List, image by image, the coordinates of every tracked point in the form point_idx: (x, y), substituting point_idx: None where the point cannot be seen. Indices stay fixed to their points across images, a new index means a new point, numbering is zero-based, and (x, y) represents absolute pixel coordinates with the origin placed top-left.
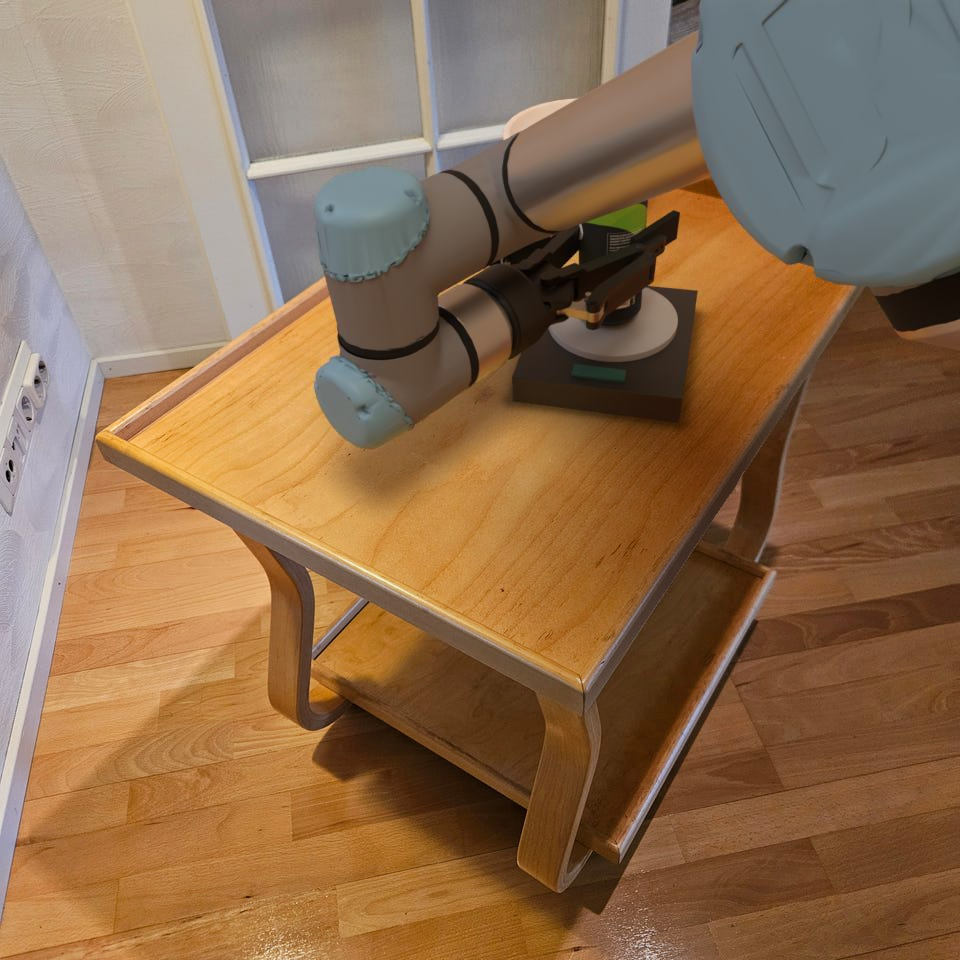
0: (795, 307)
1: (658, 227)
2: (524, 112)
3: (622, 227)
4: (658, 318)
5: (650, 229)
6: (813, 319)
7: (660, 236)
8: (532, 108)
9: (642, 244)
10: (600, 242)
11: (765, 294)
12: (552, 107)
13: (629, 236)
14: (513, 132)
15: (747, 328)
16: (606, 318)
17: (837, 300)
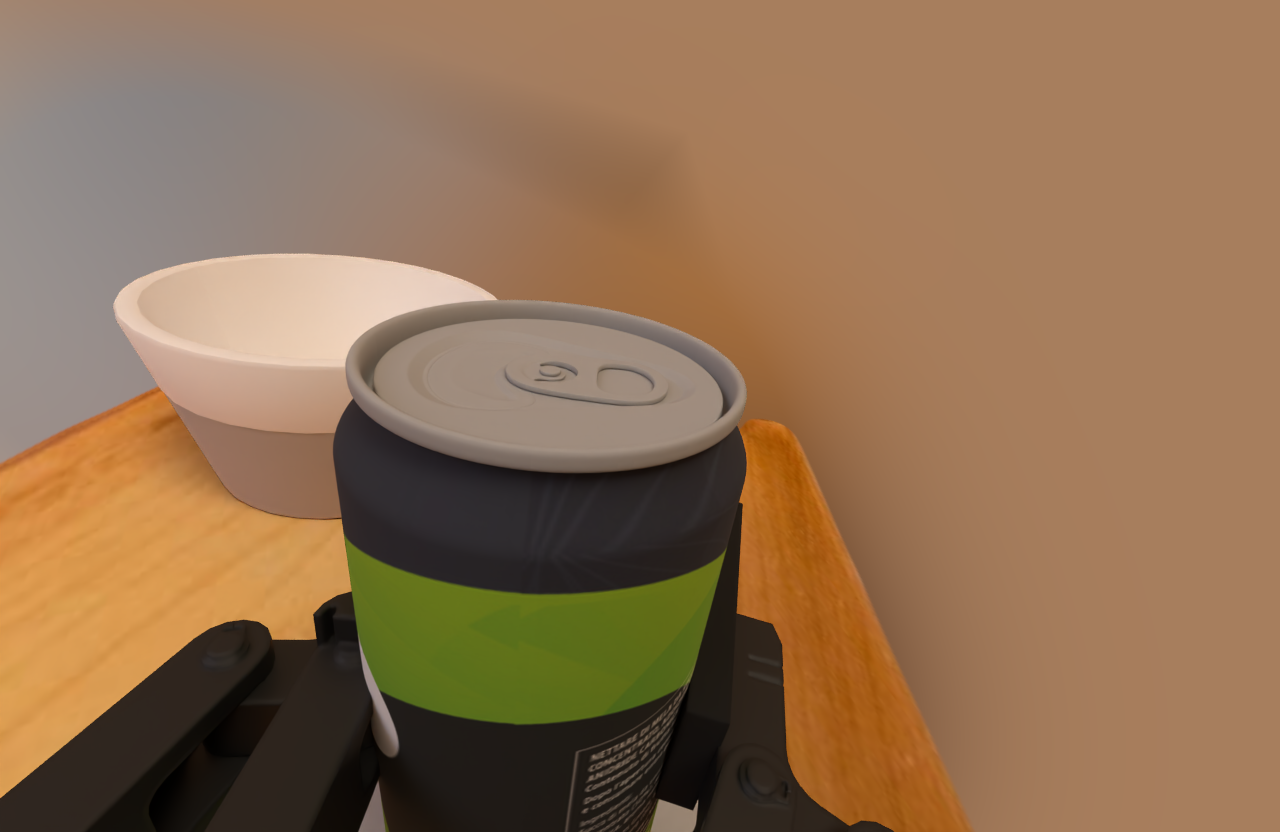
0: (813, 598)
1: (735, 593)
2: (194, 265)
3: (658, 692)
4: (677, 814)
5: (723, 618)
6: (857, 620)
7: (754, 631)
8: (217, 260)
9: (766, 750)
10: (528, 796)
11: (751, 579)
12: (267, 264)
13: (676, 705)
14: (158, 299)
15: (788, 685)
16: None
17: (848, 565)
